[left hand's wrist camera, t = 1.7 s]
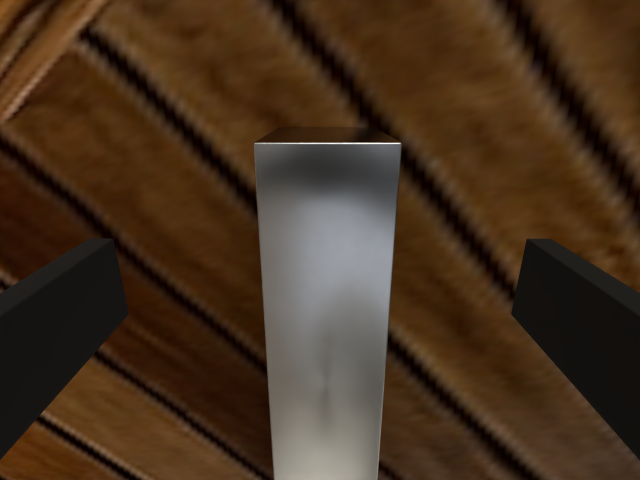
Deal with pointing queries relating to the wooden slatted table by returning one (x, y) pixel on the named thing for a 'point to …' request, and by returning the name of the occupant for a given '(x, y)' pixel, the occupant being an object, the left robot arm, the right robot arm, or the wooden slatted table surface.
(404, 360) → the wooden slatted table surface
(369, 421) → the bar
